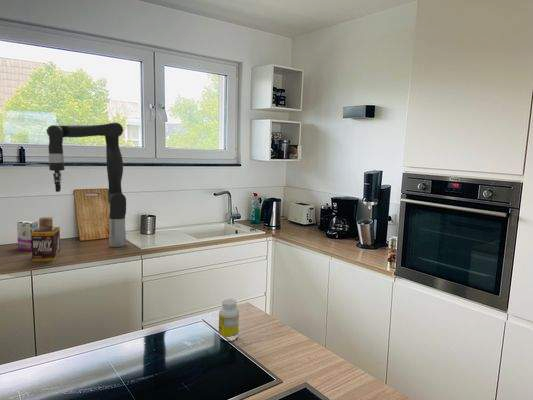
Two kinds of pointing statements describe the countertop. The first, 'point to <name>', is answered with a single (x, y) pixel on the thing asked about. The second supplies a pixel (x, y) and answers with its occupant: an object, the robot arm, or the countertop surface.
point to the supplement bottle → (228, 318)
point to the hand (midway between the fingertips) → (58, 190)
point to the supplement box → (45, 244)
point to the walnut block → (45, 223)
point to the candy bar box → (25, 234)
